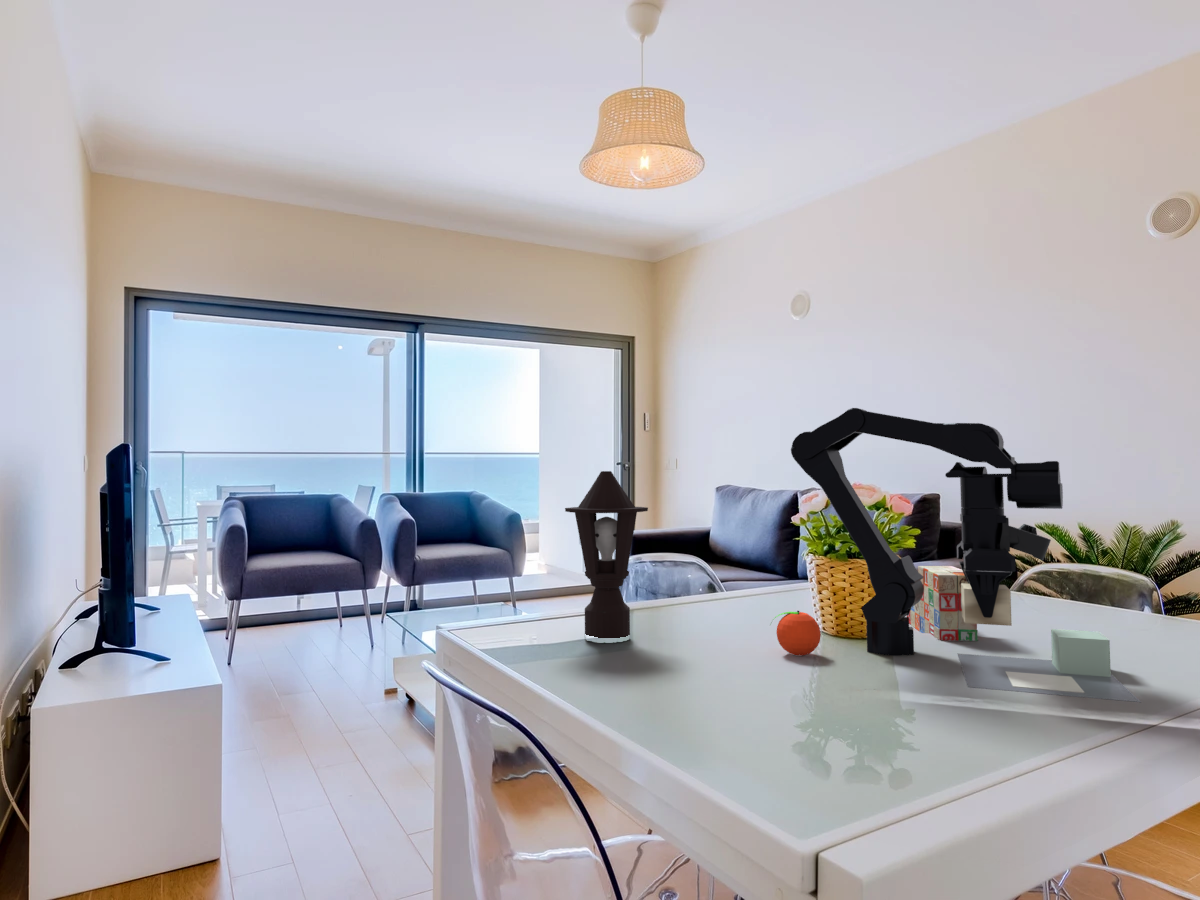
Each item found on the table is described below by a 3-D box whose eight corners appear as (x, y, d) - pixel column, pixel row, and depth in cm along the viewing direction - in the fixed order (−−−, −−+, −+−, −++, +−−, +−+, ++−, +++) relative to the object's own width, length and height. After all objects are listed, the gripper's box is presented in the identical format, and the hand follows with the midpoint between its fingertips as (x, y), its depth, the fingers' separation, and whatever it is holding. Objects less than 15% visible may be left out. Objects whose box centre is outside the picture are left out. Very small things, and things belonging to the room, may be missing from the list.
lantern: (563, 631, 141) (562, 471, 142) (641, 629, 143) (639, 471, 144) (569, 649, 126) (567, 471, 127) (655, 646, 128) (653, 470, 129)
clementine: (767, 658, 119) (767, 612, 119) (772, 648, 126) (771, 605, 126) (820, 661, 117) (819, 615, 117) (822, 651, 123) (821, 608, 123)
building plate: (967, 694, 98) (967, 686, 98) (957, 659, 117) (957, 652, 117) (1141, 710, 91) (1141, 701, 91) (1101, 670, 110) (1100, 663, 110)
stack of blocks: (905, 622, 148) (904, 559, 148) (939, 623, 147) (937, 560, 147) (939, 647, 126) (937, 573, 127) (979, 648, 126) (977, 574, 126)
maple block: (965, 623, 109) (964, 588, 110) (962, 616, 115) (961, 583, 115) (1011, 625, 107) (1010, 590, 107) (1006, 618, 113) (1005, 584, 113)
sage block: (1060, 673, 105) (1058, 637, 105) (1052, 663, 110) (1051, 628, 111) (1110, 677, 103) (1109, 640, 103) (1100, 666, 108) (1098, 631, 108)
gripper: (1056, 511, 100) (1060, 629, 99) (1033, 506, 117) (1037, 606, 117) (964, 510, 104) (967, 623, 104) (955, 505, 122) (958, 602, 121)
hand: (985, 613), depth 111 cm, fingers closed on maple block, 6 cm apart
